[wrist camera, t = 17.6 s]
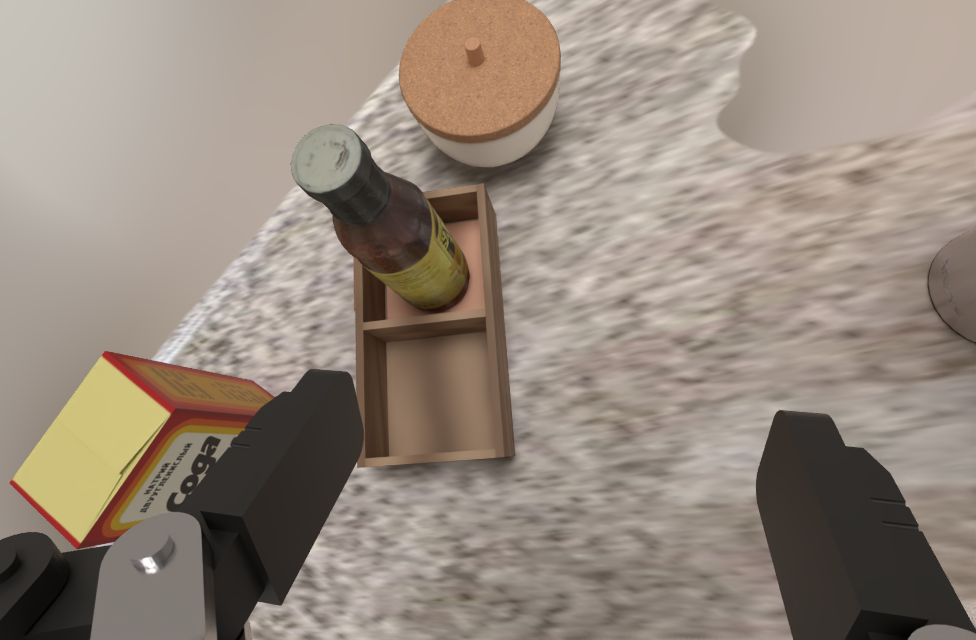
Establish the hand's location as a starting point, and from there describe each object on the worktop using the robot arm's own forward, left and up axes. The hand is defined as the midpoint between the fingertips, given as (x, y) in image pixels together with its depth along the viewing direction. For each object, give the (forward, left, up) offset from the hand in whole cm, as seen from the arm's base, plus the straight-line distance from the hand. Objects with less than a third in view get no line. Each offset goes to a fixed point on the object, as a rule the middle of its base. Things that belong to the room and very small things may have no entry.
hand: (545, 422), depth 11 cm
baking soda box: (+28, -2, -34) cm, 44 cm away
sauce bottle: (+10, -14, -33) cm, 37 cm away
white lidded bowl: (+4, -29, -34) cm, 45 cm away
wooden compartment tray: (+10, -10, -34) cm, 36 cm away
